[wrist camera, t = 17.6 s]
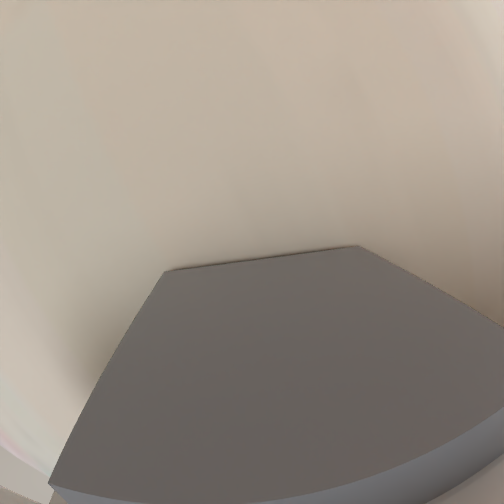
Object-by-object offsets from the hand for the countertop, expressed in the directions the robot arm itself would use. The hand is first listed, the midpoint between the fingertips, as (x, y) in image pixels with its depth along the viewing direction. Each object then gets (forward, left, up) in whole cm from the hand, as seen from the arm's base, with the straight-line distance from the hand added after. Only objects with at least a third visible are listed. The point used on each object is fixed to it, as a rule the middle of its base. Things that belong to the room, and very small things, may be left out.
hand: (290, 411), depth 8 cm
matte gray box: (0, 0, -4) cm, 4 cm away
